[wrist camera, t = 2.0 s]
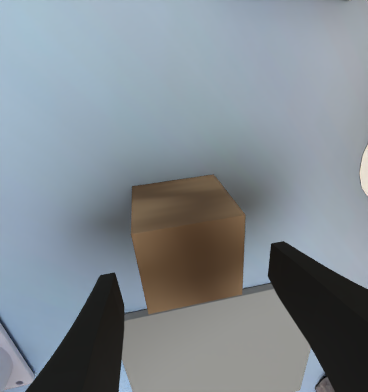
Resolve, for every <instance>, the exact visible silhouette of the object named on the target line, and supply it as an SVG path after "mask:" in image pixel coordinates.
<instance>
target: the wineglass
mask: <svg viewBox="0 0 368 392" xmlns="http://www.w3.org/2000/svg"><path fill="white" fill-rule="evenodd" d="M360 180H361V186H362V189H363V190H364V192H365V193H366V195H367V196H368V145H367V147H366V149H365V152H364V154H363V157H362V162H361V168H360Z"/></svg>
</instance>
